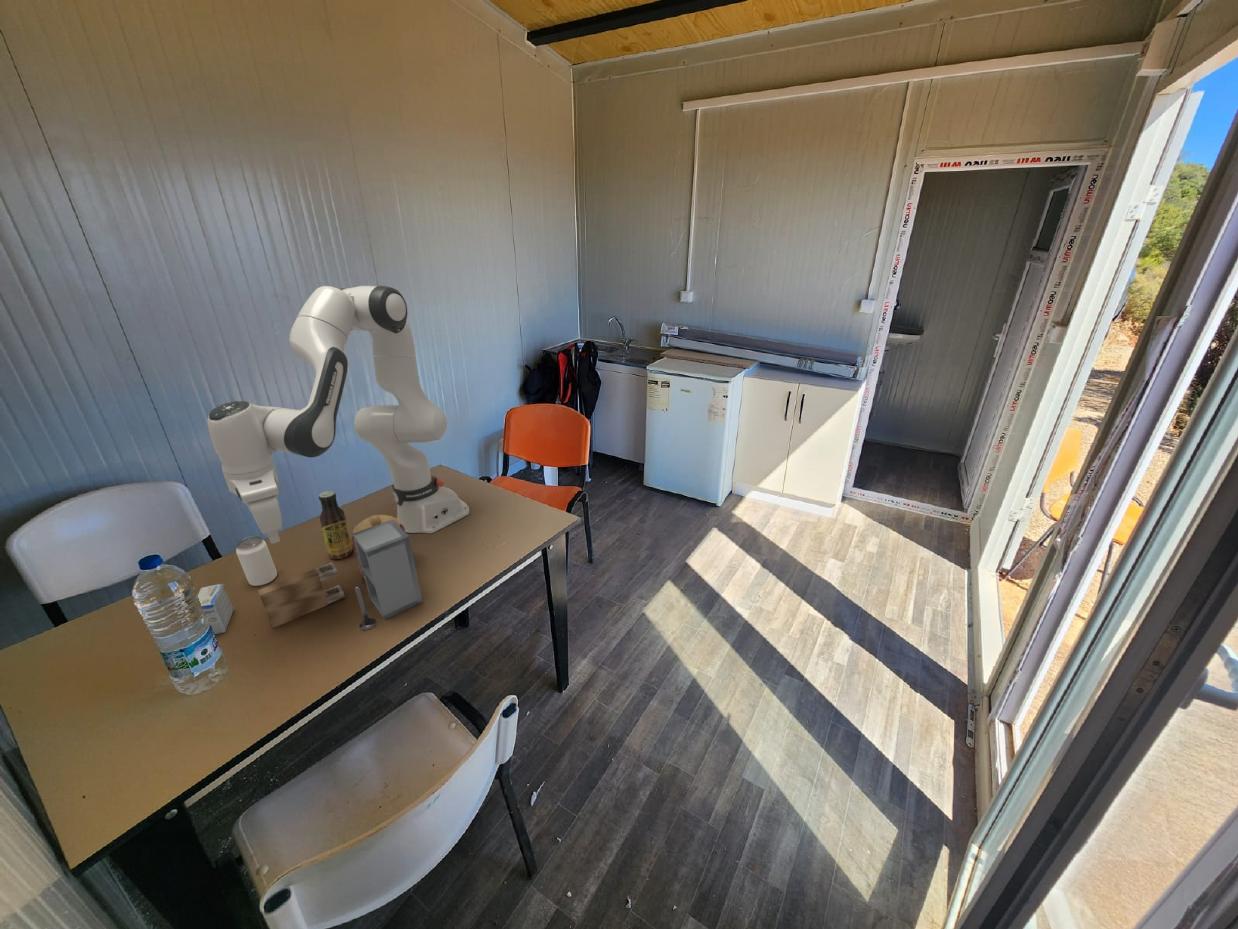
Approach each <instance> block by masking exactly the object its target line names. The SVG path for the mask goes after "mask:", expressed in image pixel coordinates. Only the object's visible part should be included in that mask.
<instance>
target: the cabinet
mask: <svg viewBox="0 0 1238 929" xmlns="http://www.w3.org/2000/svg"><path fill="white" fill-rule="evenodd" d="M352 537H353V538H354V541H355V545H356V549H357V552H358V556H359V560H360V563H361V567H362V571H363V574H364V578H365V580H364V581H365V584H366V590H367V591H368V592H367V593H368V595H369V598H370V601H371V602H372V604H373V606H374V607H375V608H376V610H377V611H378V612H379V614H380V616H381V617H382V619H383V620H385V621H386V620H388V619H389V618H391V617H394V616H396V615H398V614H400V613H402V612H404V611H407V610H409V609H411V608H413V607H415V606H417V605H419V604H421V603H423V596H422V591H421V587H420V582H419V578H418V573H417V569H416V568H417V567H416V563H415V558H414V553H413V549H412V544H411V539H410V536H409V535H408V534H407V532H404V531H403V530H402V528H401V527H400V526H399V525H398V524H397V523H396V522H395V521H394V520H393V519H392V520H390V521H387V522H384V523H381V524H378V525H376V526H373V527H370V528H367V529H364V530H361V531H359V532H356V533H353V532H352Z"/></svg>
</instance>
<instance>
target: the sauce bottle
mask: <svg viewBox="0 0 1238 929" xmlns="http://www.w3.org/2000/svg"><path fill="white" fill-rule="evenodd" d="M318 500H319V501H320V504H321V509H322V510H321V513H320V516H319V519H320V520H319V521H320V527H321V531H322V534H323V538H324V542H325V546H326V550H327V554H328V556H329V558H330V559H332V560H342V559H344V558H347V557H349V556H350V555H351V554H352V552H353V544H352V538H351V536H350V531H349V527H348V523H347V519H346V515H345V511H344V510H343V509H342V508H341V507H340V506H339V504H338V501H337V494H336V492H335V491H333V490H326V491H321V492H320V493H319V494H318Z"/></svg>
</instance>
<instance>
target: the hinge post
mask: <svg viewBox="0 0 1238 929" xmlns="http://www.w3.org/2000/svg"><path fill="white" fill-rule="evenodd" d="M354 591H355V595H356V599H357V601H358V606H359V608H360V609H359V610H360V612H361V616H362V619H363V620H362V621H361V622H360V623H359V629H360V630H362V631H369V630H371V629H373V628H375V626H376V625H377V621H376V619H375V618H371V617H370V616H369V613H368V608H367V606H366V602H365V598H364V595H363V591H362V587H361V586H360V585H357V586H355V587H354Z"/></svg>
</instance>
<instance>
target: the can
mask: <svg viewBox="0 0 1238 929" xmlns="http://www.w3.org/2000/svg"><path fill="white" fill-rule="evenodd" d="M235 545H236V546H235V547H236V550H235V552H236V555H237V558H238V560H239V563H240V565H241V569H242V570H243V573H244V575H245V577H246V580H247V582H248V584H249V585H250V586H253V587H260V586H261V587H262V586H265V585H267V584H270V583H271V582H273V581H274V580H275V579H276V577H277V576H278V572H277V569H276V566H275V564H274V563H275V562H274V560H273V558H272V555H271V553H270V549H269V547H268V545H267V543H266V541H265V540H264V539H263V537H261V536H259V535H253V536H248V537H245V538H243V539H241V540H240V541H238V542H237V543H236V544H235Z"/></svg>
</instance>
